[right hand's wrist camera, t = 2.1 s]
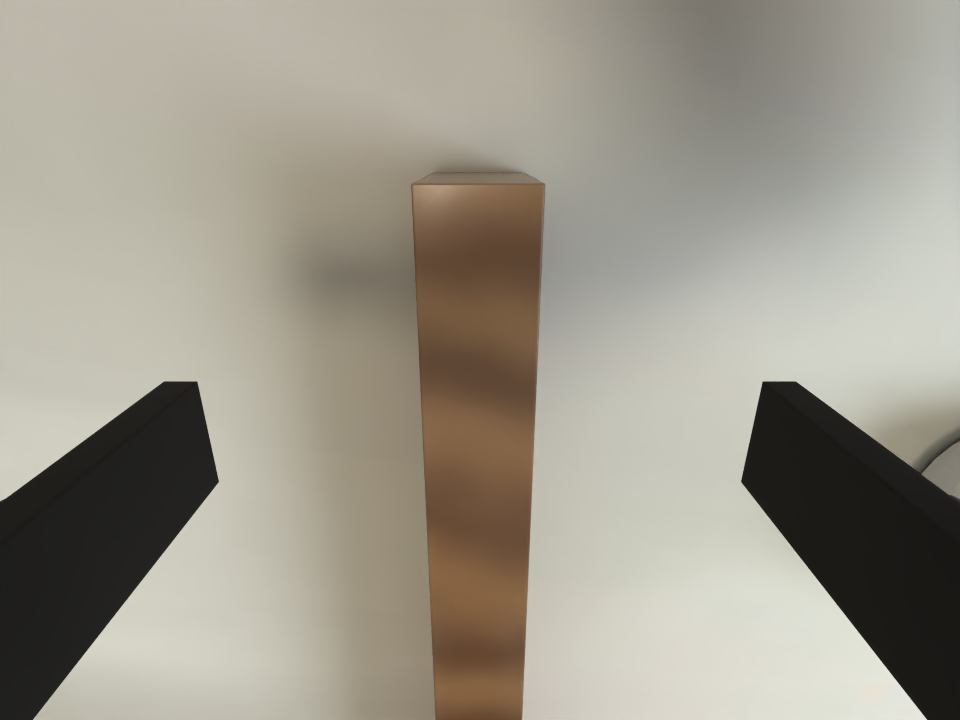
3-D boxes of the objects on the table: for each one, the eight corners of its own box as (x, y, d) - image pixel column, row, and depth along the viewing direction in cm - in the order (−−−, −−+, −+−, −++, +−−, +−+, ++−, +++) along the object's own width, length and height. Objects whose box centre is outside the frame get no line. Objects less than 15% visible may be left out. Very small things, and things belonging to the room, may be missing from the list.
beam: (431, 172, 26) (411, 183, 18) (525, 172, 26) (545, 183, 18) (452, 816, 45) (446, 955, 37) (506, 816, 45) (511, 955, 37)
